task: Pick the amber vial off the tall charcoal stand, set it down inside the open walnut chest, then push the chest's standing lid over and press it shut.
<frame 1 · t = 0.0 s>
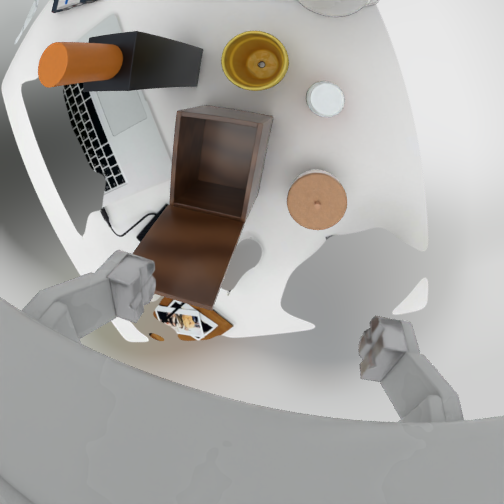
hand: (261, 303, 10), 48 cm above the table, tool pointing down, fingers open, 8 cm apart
chest: (231, 149, 55), on the table
flower pot: (263, 65, 45), on the table
stand: (181, 66, 47), on the table
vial: (107, 62, 27), point 24 cm above the table, touching stand
trinket box: (316, 188, 56), on the table
chest lid: (185, 248, 41), point 22 cm above the table, hinge at 100.0°
pill bottle: (322, 98, 46), on the table
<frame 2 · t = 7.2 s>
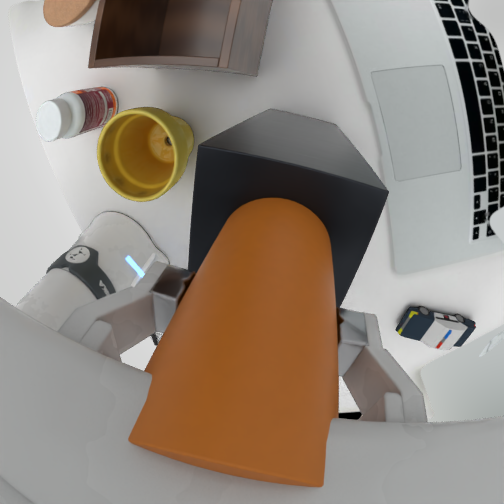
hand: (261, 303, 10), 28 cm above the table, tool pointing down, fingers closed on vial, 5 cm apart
chest: (213, 11, 25), on the table
flower pot: (172, 138, 35), on the table
toy car: (435, 319, 43), on the table
stand: (296, 146, 33), on the table
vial: (274, 249, 13), point 24 cm above the table, touching gripper, stand
pill bottle: (103, 106, 34), on the table
when the fingers open (6 cm above the table, at t = 18.6 s): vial stays where it is, resting on chest.
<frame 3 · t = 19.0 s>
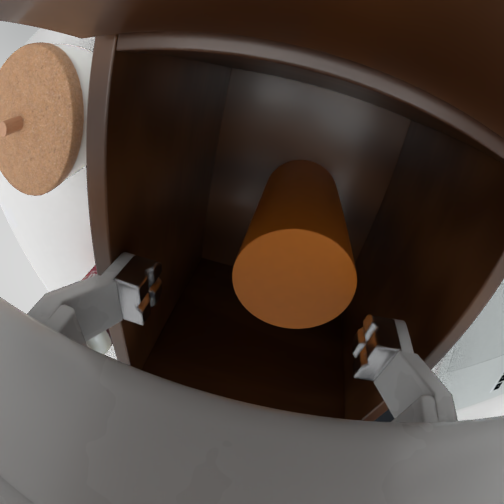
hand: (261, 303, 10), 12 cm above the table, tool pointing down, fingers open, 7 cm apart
chest: (296, 188, 20), on the table
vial: (301, 194, 20), point 1 cm above the table, touching chest
trinket box: (91, 102, 19), on the table
pill bottle: (121, 278, 29), on the table
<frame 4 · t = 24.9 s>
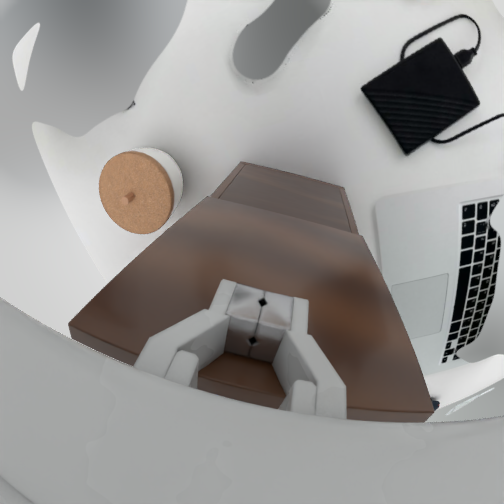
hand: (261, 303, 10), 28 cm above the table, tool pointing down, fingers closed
chest: (278, 229, 40), on the table
trinket box: (160, 175, 39), on the table
chest lid: (277, 268, 16), point 22 cm above the table, hinge at 97.3°, touching gripper
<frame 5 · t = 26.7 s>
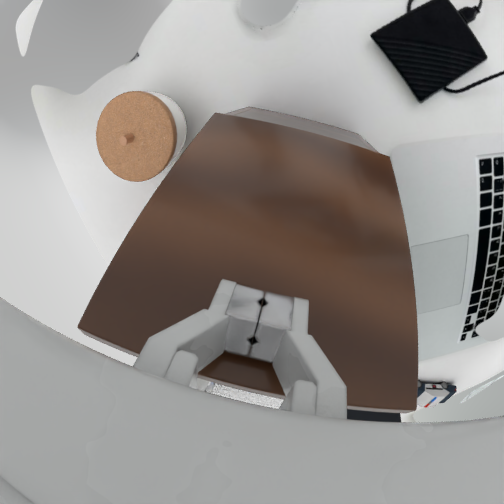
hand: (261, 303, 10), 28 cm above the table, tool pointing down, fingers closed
chest: (289, 180, 36), on the table
toy car: (426, 385, 54), on the table
stand: (343, 297, 44), on the table
trinket box: (162, 126, 35), on the table
chest lid: (287, 213, 15), point 22 cm above the table, hinge at 70.6°, touching gripper
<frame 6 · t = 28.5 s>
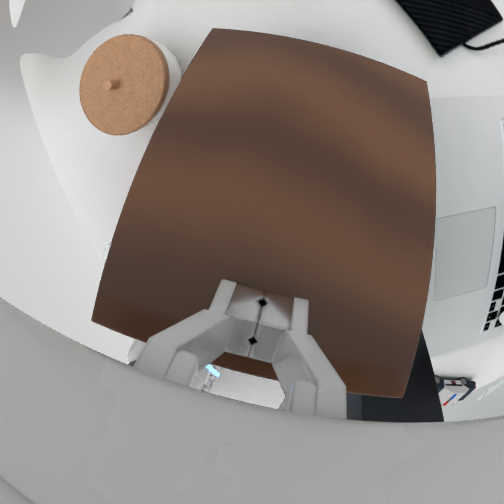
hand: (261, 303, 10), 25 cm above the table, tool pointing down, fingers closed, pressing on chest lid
toy car: (444, 382, 48), on the table
stand: (361, 279, 38), on the table
trinket box: (154, 82, 29), on the table
chest lid: (297, 165, 12), point 20 cm above the table, hinge at 43.3°, touching gripper
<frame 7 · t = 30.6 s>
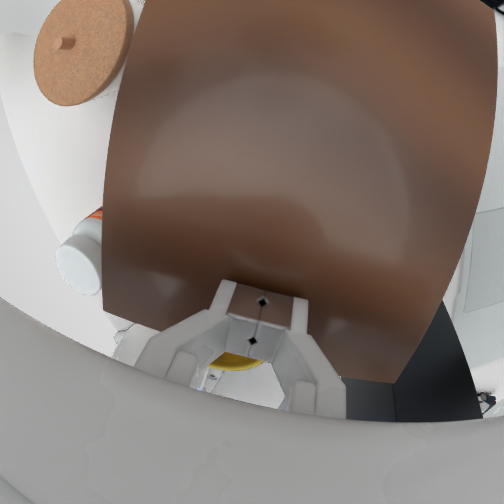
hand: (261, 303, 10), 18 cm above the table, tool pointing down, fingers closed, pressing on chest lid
flower pot: (239, 268, 32), on the table
toy car: (463, 398, 39), on the table
stand: (382, 289, 29), on the table
trinket box: (126, 46, 20), on the table
chest lid: (306, 131, 8), point 16 cm above the table, hinge at 12.3°, touching gripper
pill bottle: (140, 212, 30), on the table
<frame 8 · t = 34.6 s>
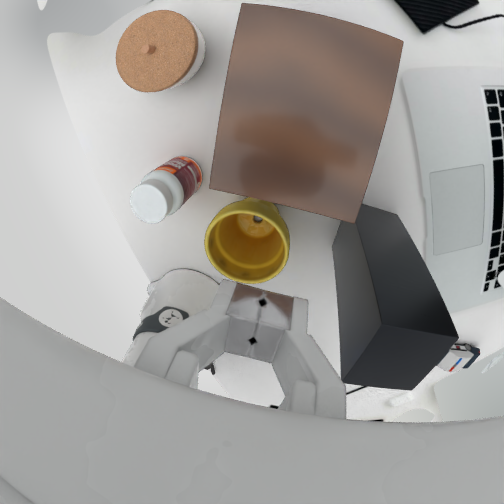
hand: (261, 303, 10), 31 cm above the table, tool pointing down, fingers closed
flower pot: (258, 215, 43), on the table
toy car: (449, 348, 51), on the table
stand: (364, 231, 41), on the table
trinket box: (179, 54, 32), on the table
chest lid: (304, 108, 21), point 14 cm above the table, hinge at 1.9°
pill bottle: (184, 174, 41), on the table
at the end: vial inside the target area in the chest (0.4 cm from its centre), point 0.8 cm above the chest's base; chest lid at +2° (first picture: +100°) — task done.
